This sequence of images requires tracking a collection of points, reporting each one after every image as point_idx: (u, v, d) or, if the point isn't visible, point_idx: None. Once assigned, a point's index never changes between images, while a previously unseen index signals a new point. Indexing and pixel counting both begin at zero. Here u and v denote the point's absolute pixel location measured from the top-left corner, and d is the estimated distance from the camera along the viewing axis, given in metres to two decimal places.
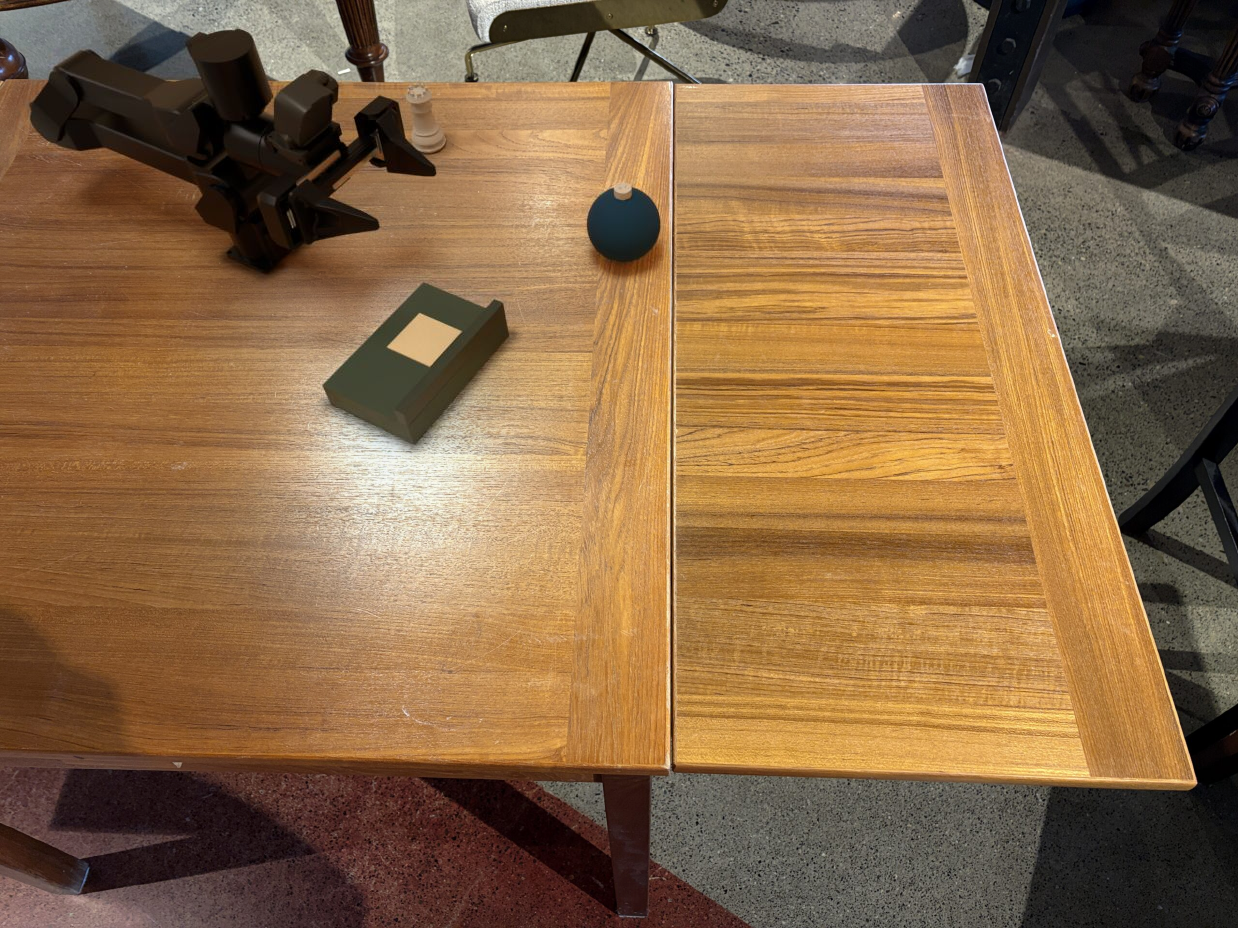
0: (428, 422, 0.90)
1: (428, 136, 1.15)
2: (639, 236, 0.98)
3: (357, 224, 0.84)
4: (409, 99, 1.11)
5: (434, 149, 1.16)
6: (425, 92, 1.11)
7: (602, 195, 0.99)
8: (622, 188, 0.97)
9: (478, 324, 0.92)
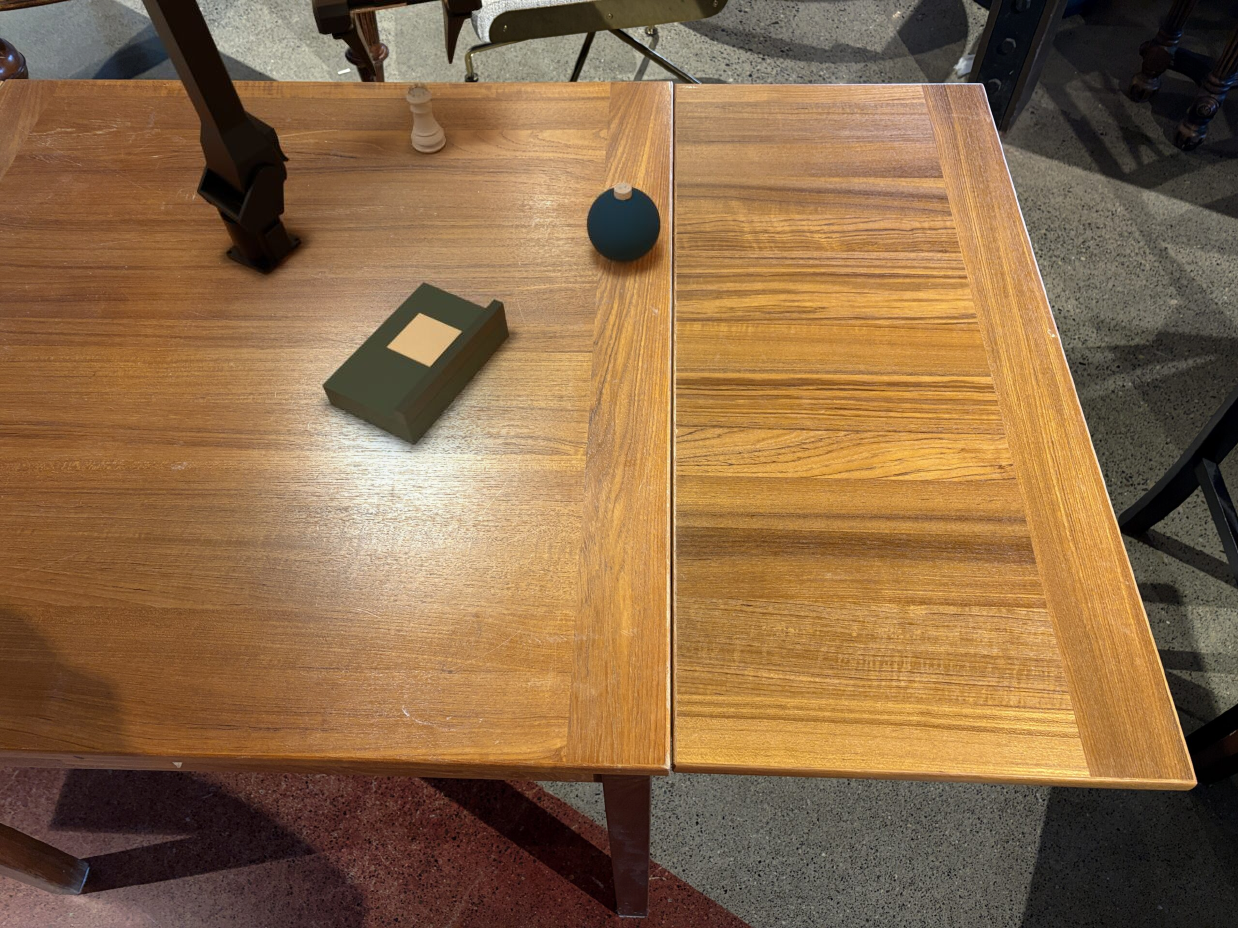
0: (428, 422, 0.90)
1: (428, 136, 1.15)
2: (639, 236, 0.98)
3: None
4: (409, 99, 1.11)
5: (434, 149, 1.16)
6: (425, 92, 1.11)
7: (602, 195, 0.99)
8: (622, 188, 0.97)
9: (478, 324, 0.92)
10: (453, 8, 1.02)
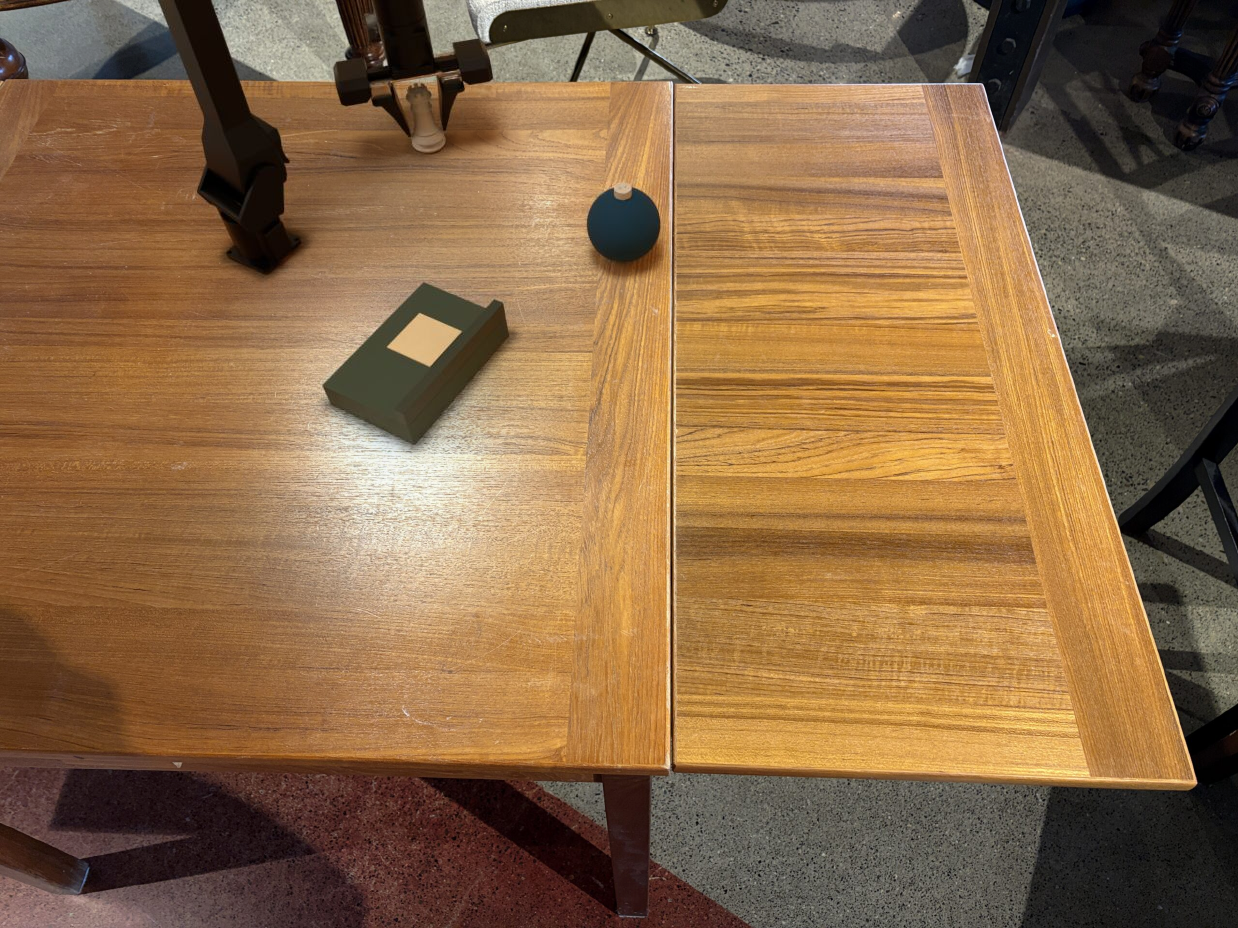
0: (428, 422, 0.90)
1: (428, 136, 1.15)
2: (639, 236, 0.98)
3: None
4: (409, 99, 1.11)
5: (434, 149, 1.16)
6: (425, 92, 1.11)
7: (602, 195, 0.99)
8: (622, 188, 0.97)
9: (478, 324, 0.92)
10: (466, 80, 1.09)
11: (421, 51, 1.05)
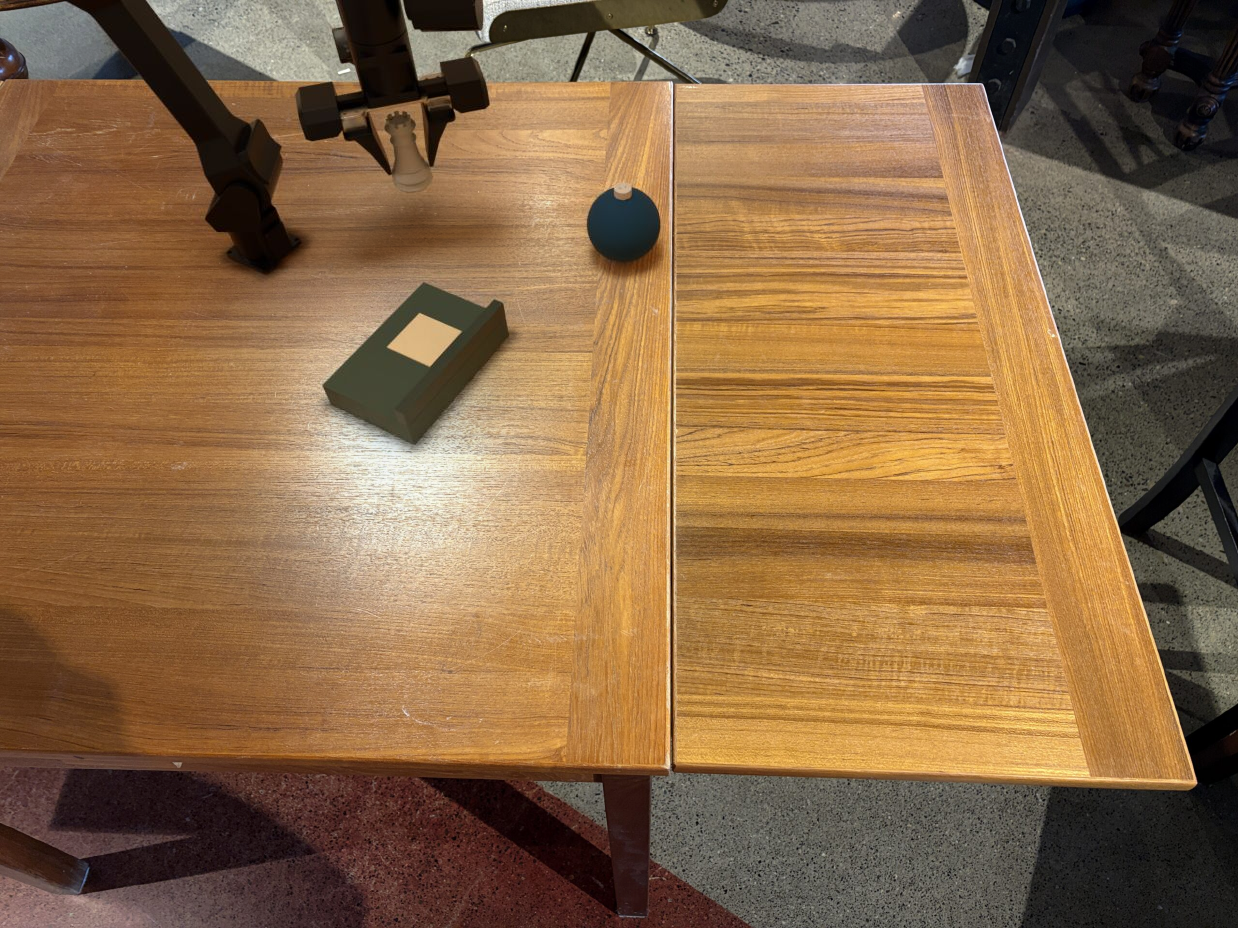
0: (428, 422, 0.90)
1: (412, 173, 0.96)
2: (639, 236, 0.98)
3: None
4: (388, 130, 0.92)
5: (419, 188, 0.97)
6: (408, 122, 0.92)
7: (602, 195, 0.99)
8: (622, 188, 0.97)
9: (478, 324, 0.92)
10: (457, 108, 0.90)
11: (402, 74, 0.86)
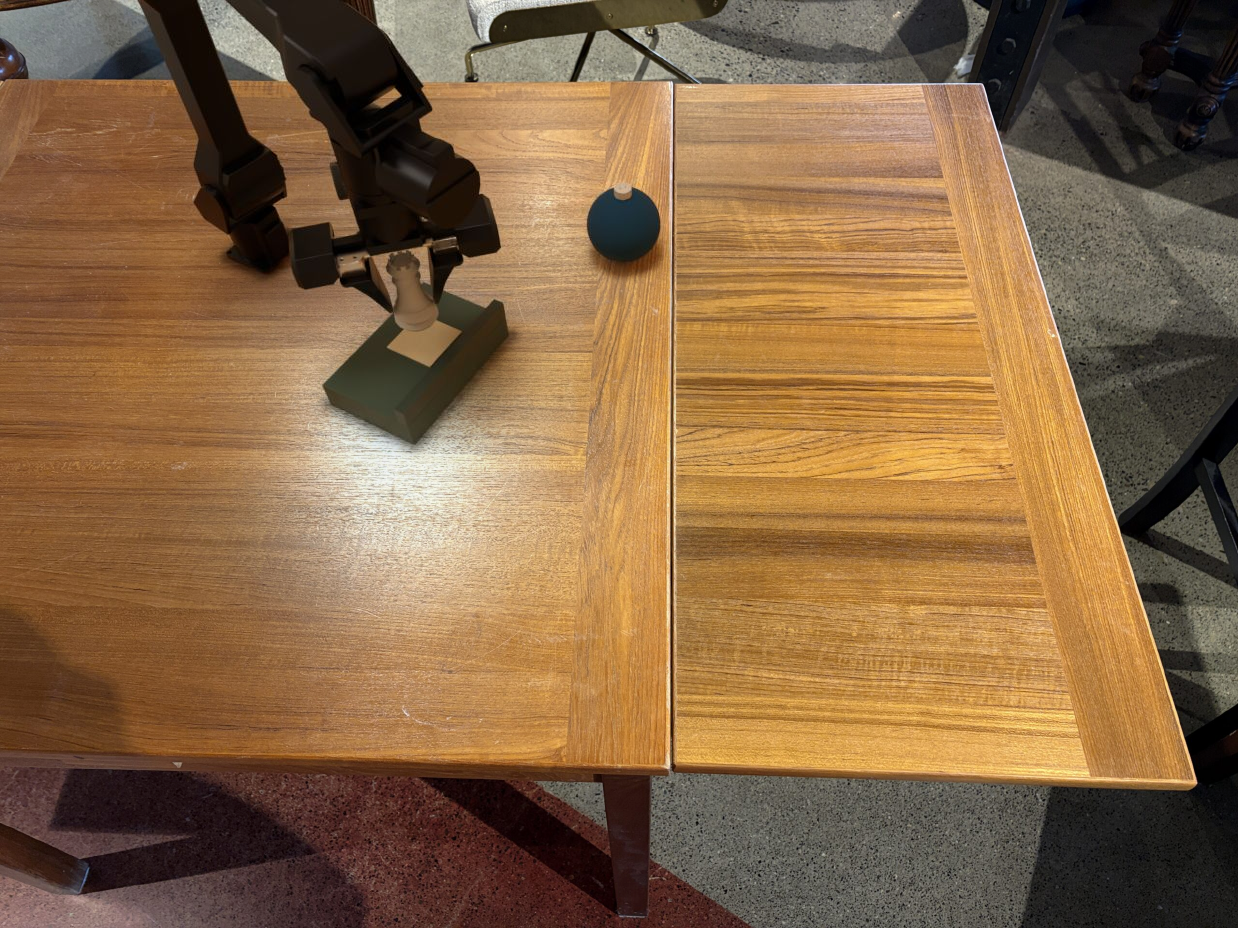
0: (428, 422, 0.90)
1: (416, 312, 0.88)
2: (639, 236, 0.98)
3: None
4: (390, 272, 0.84)
5: (423, 327, 0.89)
6: (411, 263, 0.84)
7: (602, 195, 0.99)
8: (622, 188, 0.97)
9: (478, 324, 0.92)
10: (465, 253, 0.82)
11: (405, 222, 0.78)
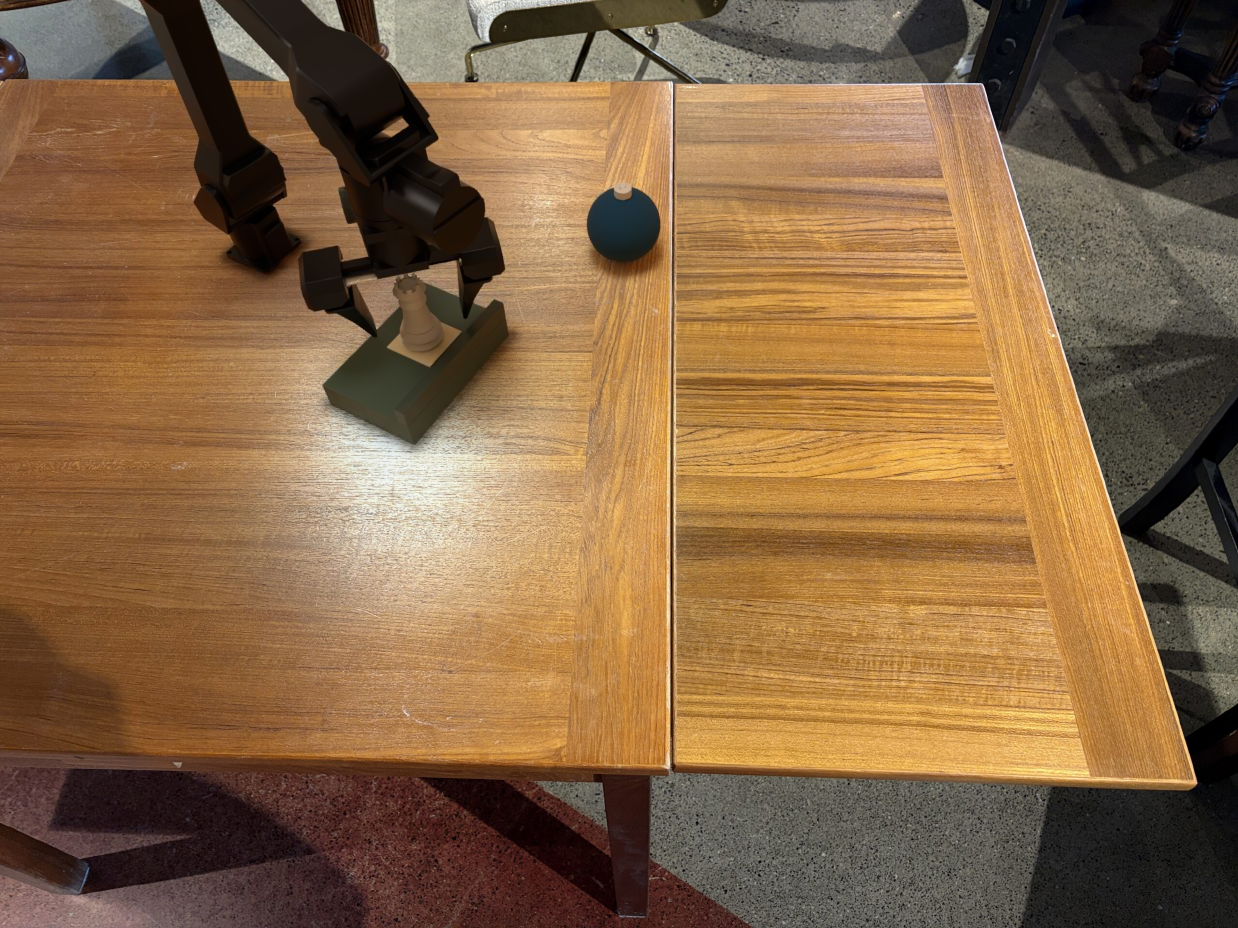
0: (428, 422, 0.90)
1: (422, 333, 0.91)
2: (639, 236, 0.98)
3: None
4: (396, 295, 0.87)
5: (429, 347, 0.92)
6: (417, 286, 0.87)
7: (602, 195, 0.99)
8: (622, 188, 0.97)
9: (478, 324, 0.92)
10: (470, 275, 0.84)
11: (412, 246, 0.80)
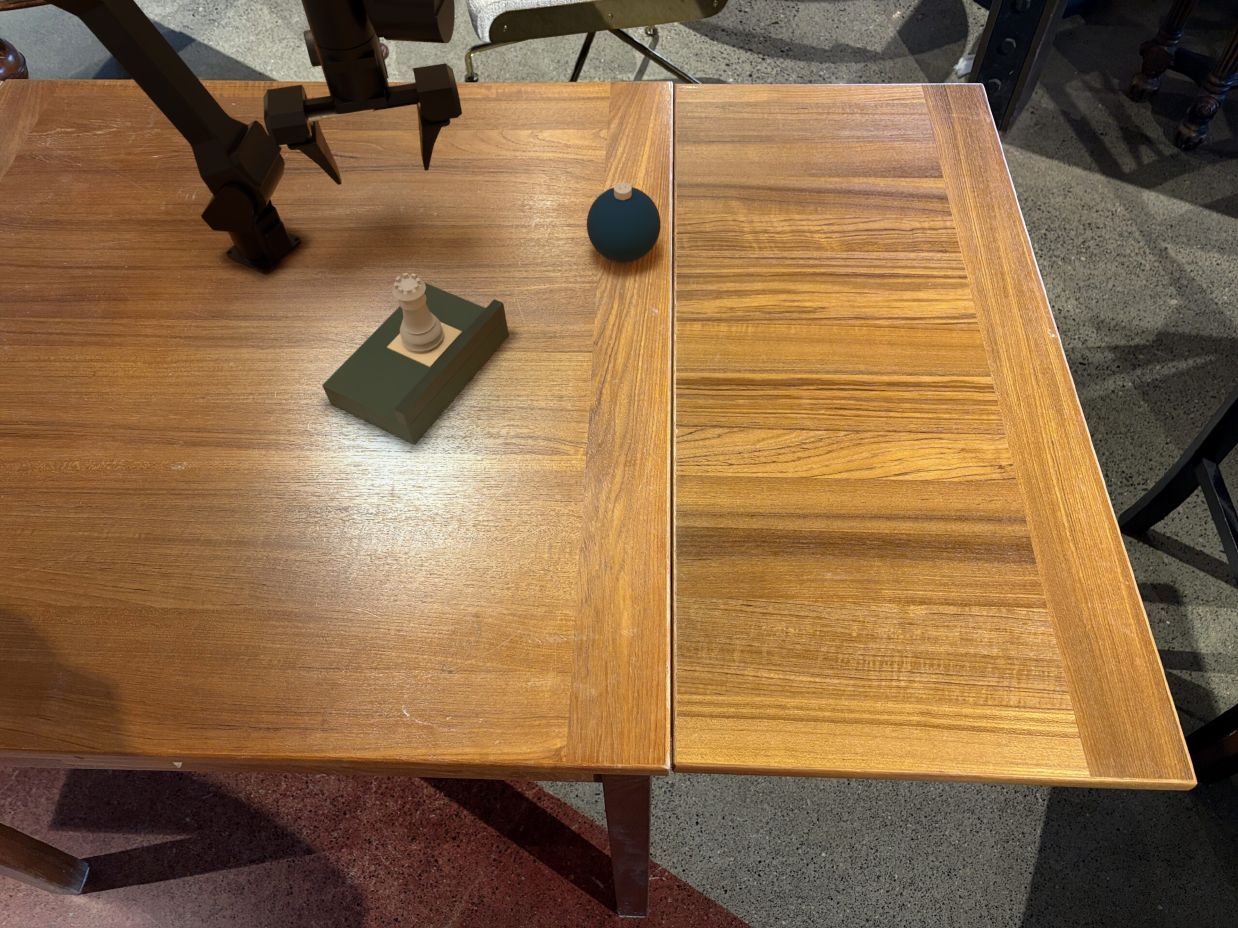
0: (428, 422, 0.90)
1: (422, 333, 0.91)
2: (639, 236, 0.98)
3: None
4: (396, 295, 0.87)
5: (429, 347, 0.92)
6: (417, 286, 0.87)
7: (602, 195, 0.99)
8: (622, 188, 0.97)
9: (478, 324, 0.92)
10: (428, 116, 0.88)
11: (370, 80, 0.84)
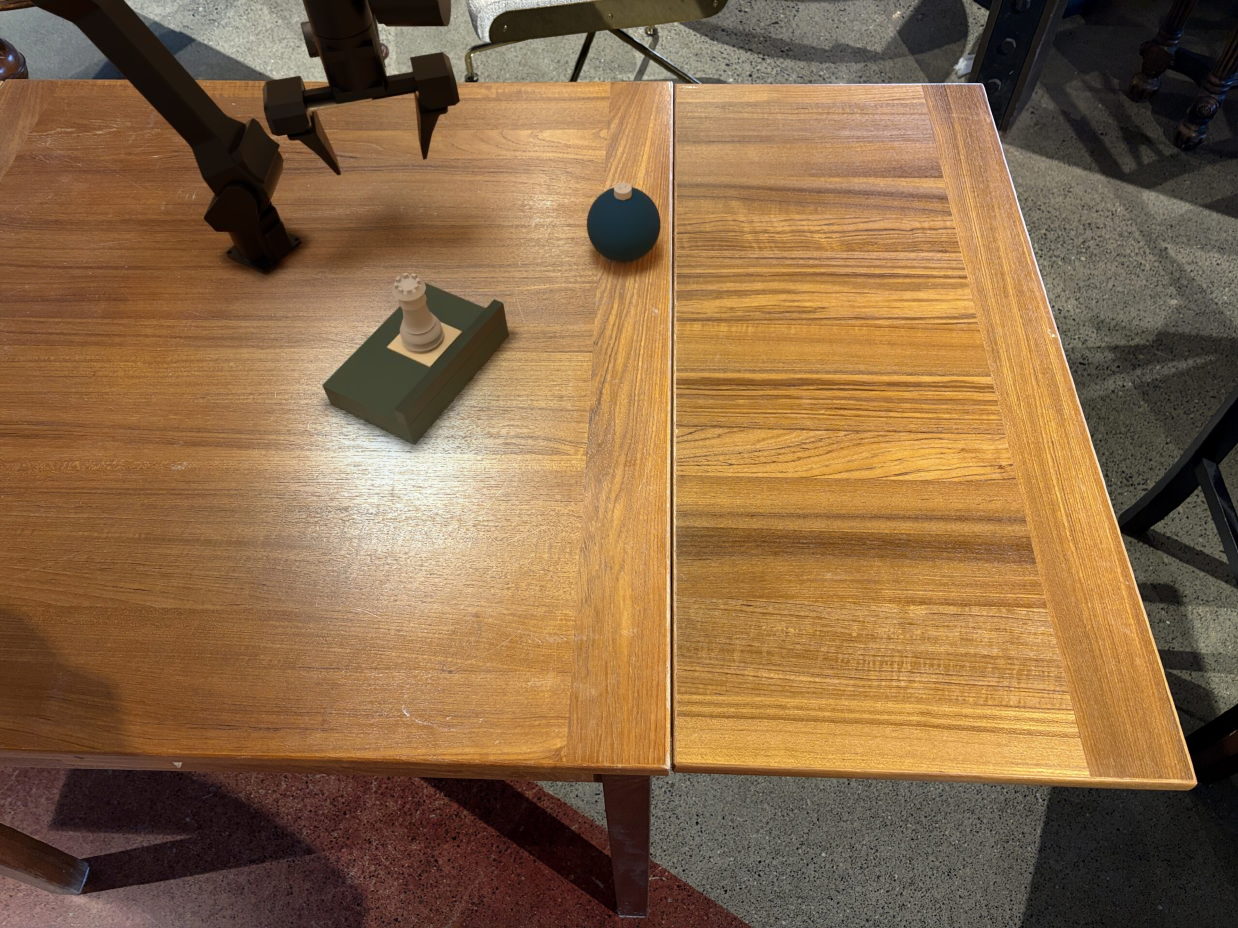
0: (428, 422, 0.90)
1: (422, 333, 0.91)
2: (639, 236, 0.98)
3: None
4: (396, 295, 0.87)
5: (429, 347, 0.92)
6: (417, 286, 0.87)
7: (602, 195, 0.99)
8: (622, 188, 0.97)
9: (478, 324, 0.92)
10: (426, 104, 0.89)
11: (369, 69, 0.85)
